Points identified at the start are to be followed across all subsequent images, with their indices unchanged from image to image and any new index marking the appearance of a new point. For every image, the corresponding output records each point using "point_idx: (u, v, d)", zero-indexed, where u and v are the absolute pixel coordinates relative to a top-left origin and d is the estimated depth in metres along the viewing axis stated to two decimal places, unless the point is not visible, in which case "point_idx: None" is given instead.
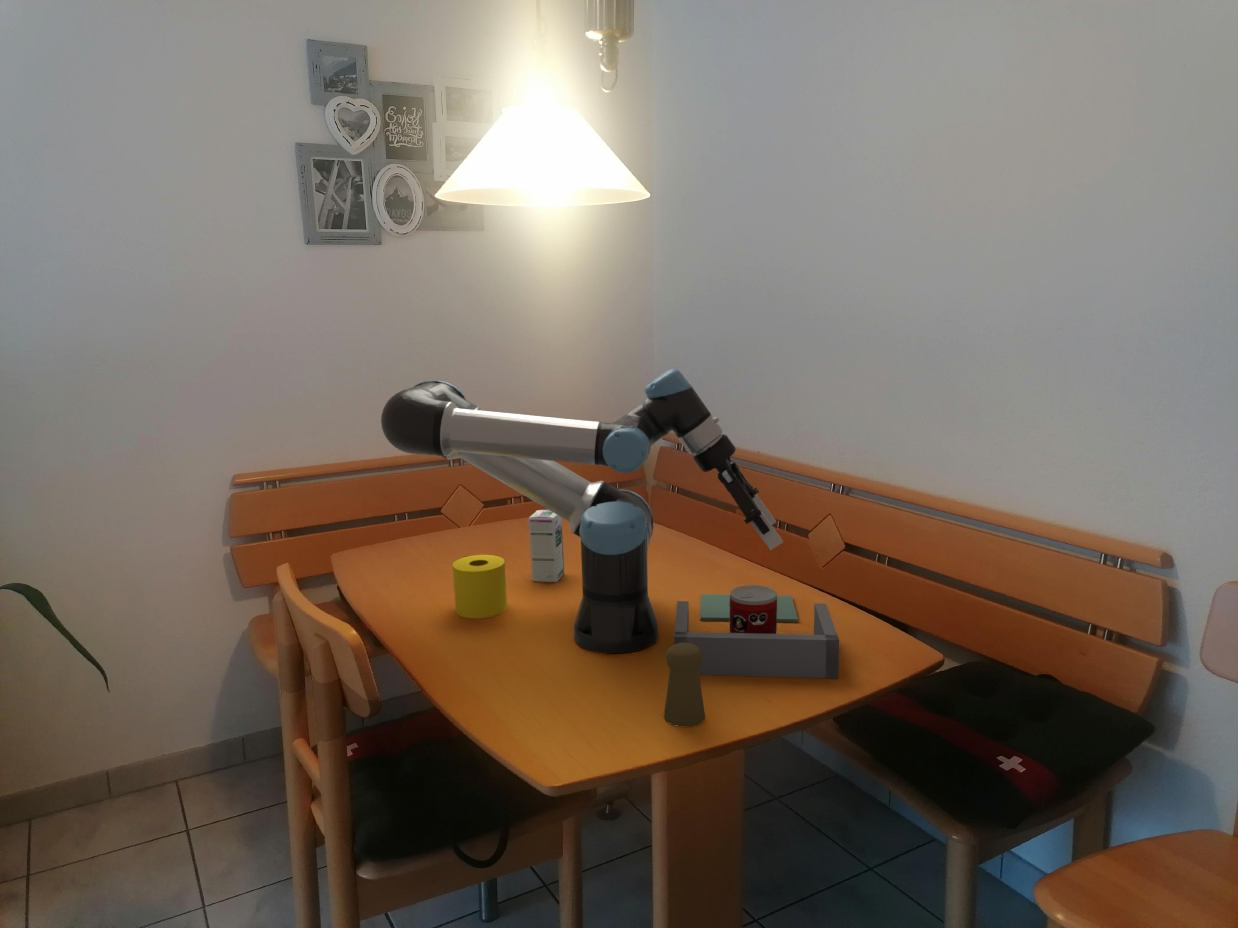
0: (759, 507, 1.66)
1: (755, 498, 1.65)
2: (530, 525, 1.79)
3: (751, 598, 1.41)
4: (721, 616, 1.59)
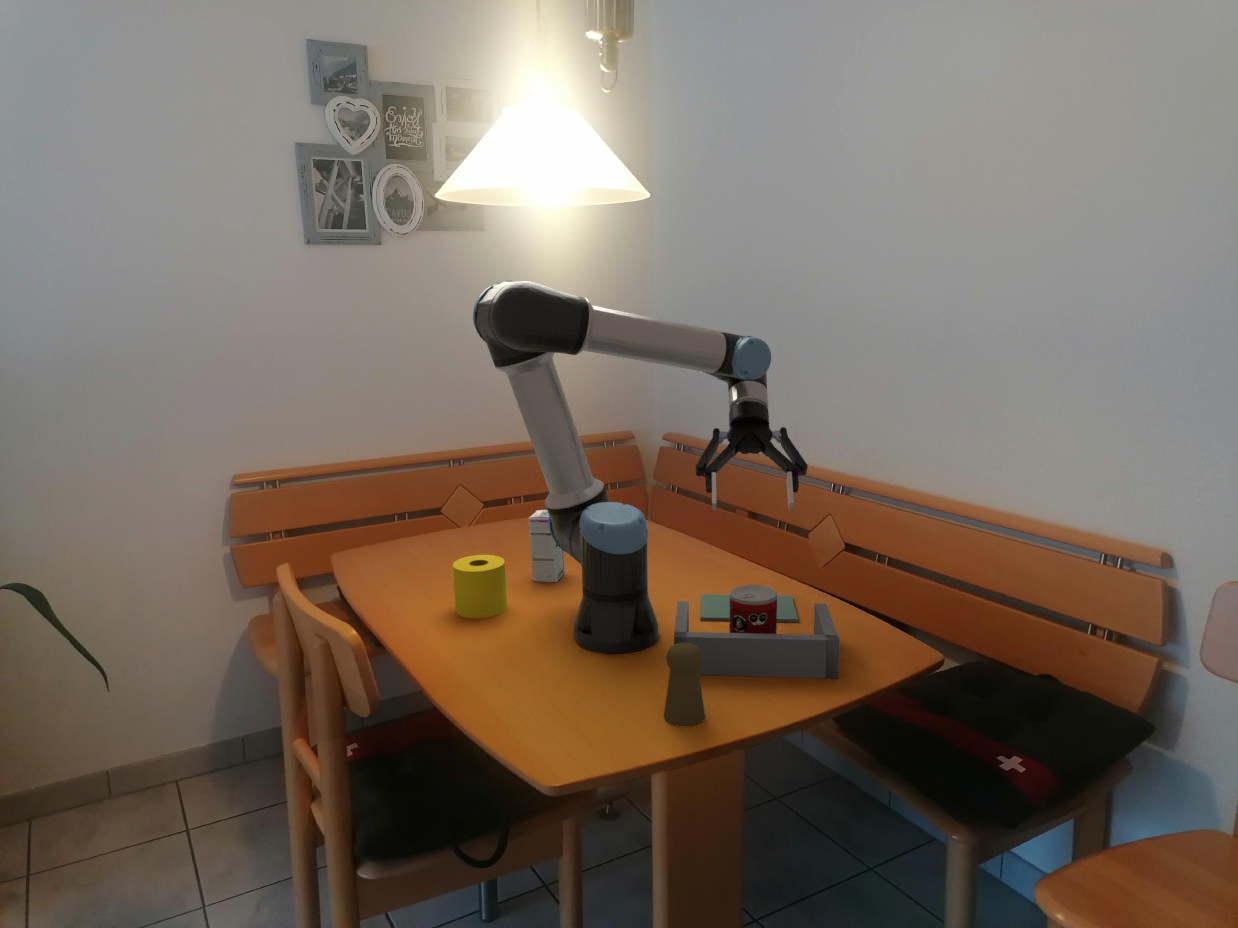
0: None
1: None
2: (530, 525, 1.79)
3: (751, 598, 1.41)
4: (721, 616, 1.59)
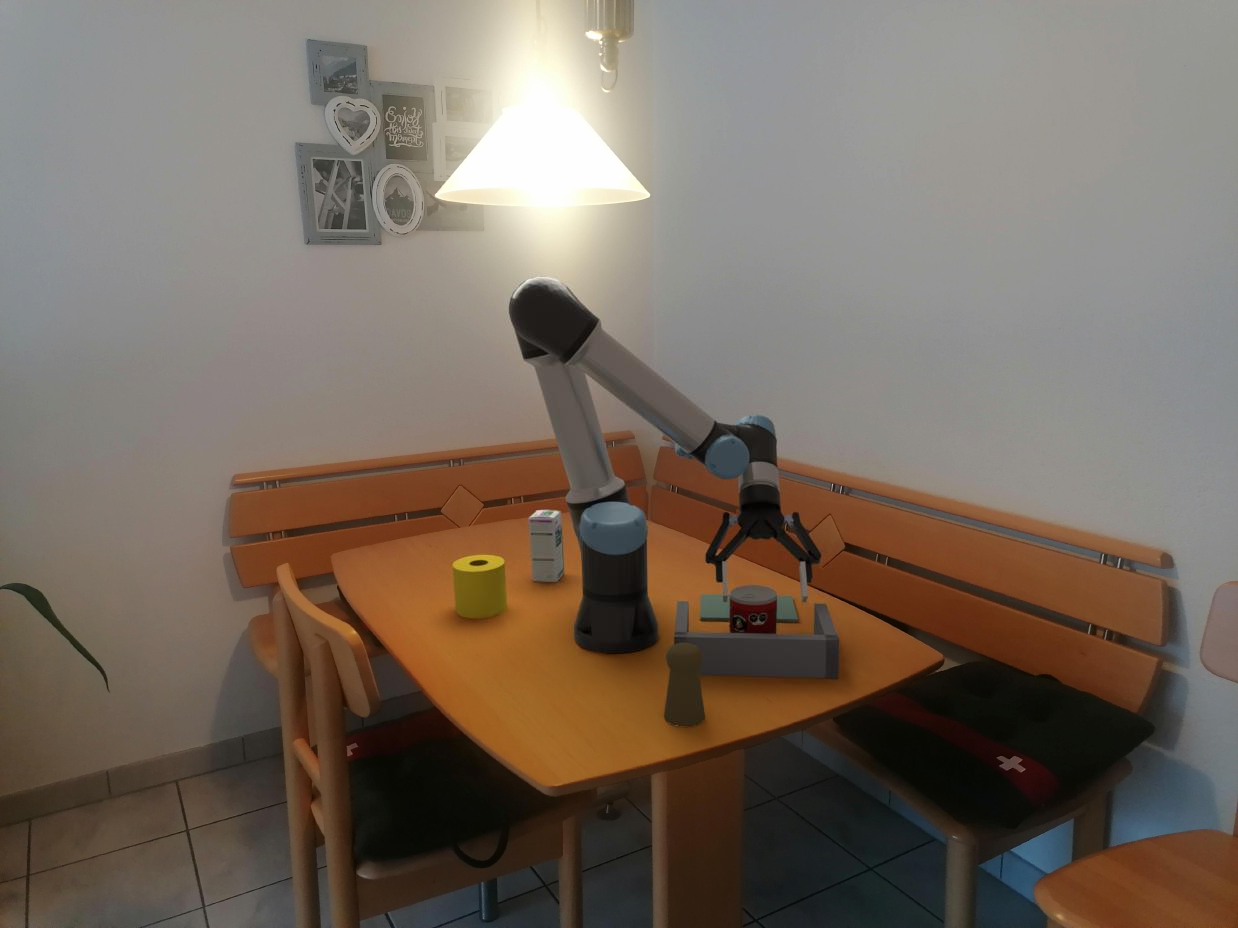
0: None
1: None
2: (530, 525, 1.79)
3: (751, 598, 1.41)
4: (721, 616, 1.59)
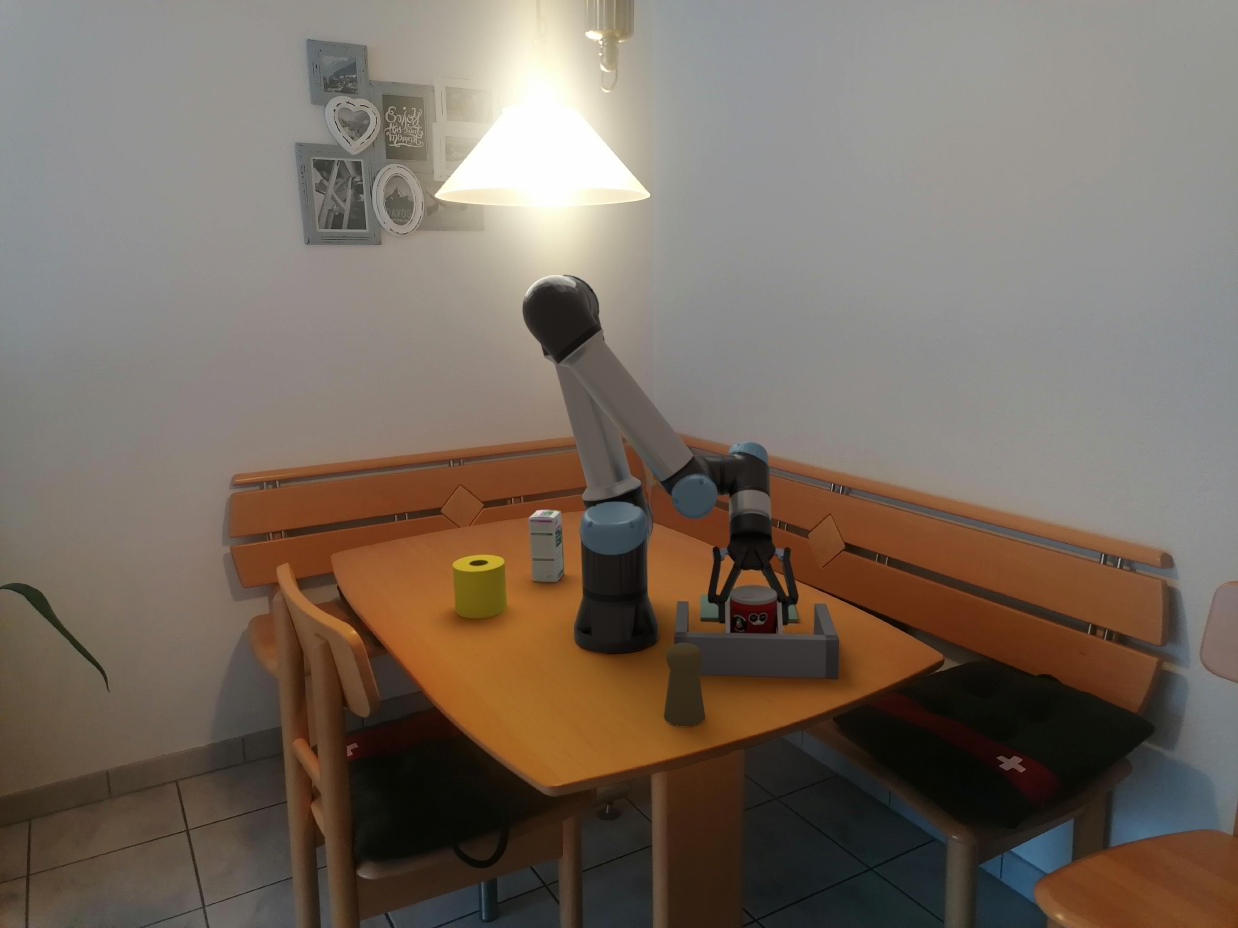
0: None
1: None
2: (530, 525, 1.79)
3: (751, 598, 1.41)
4: None
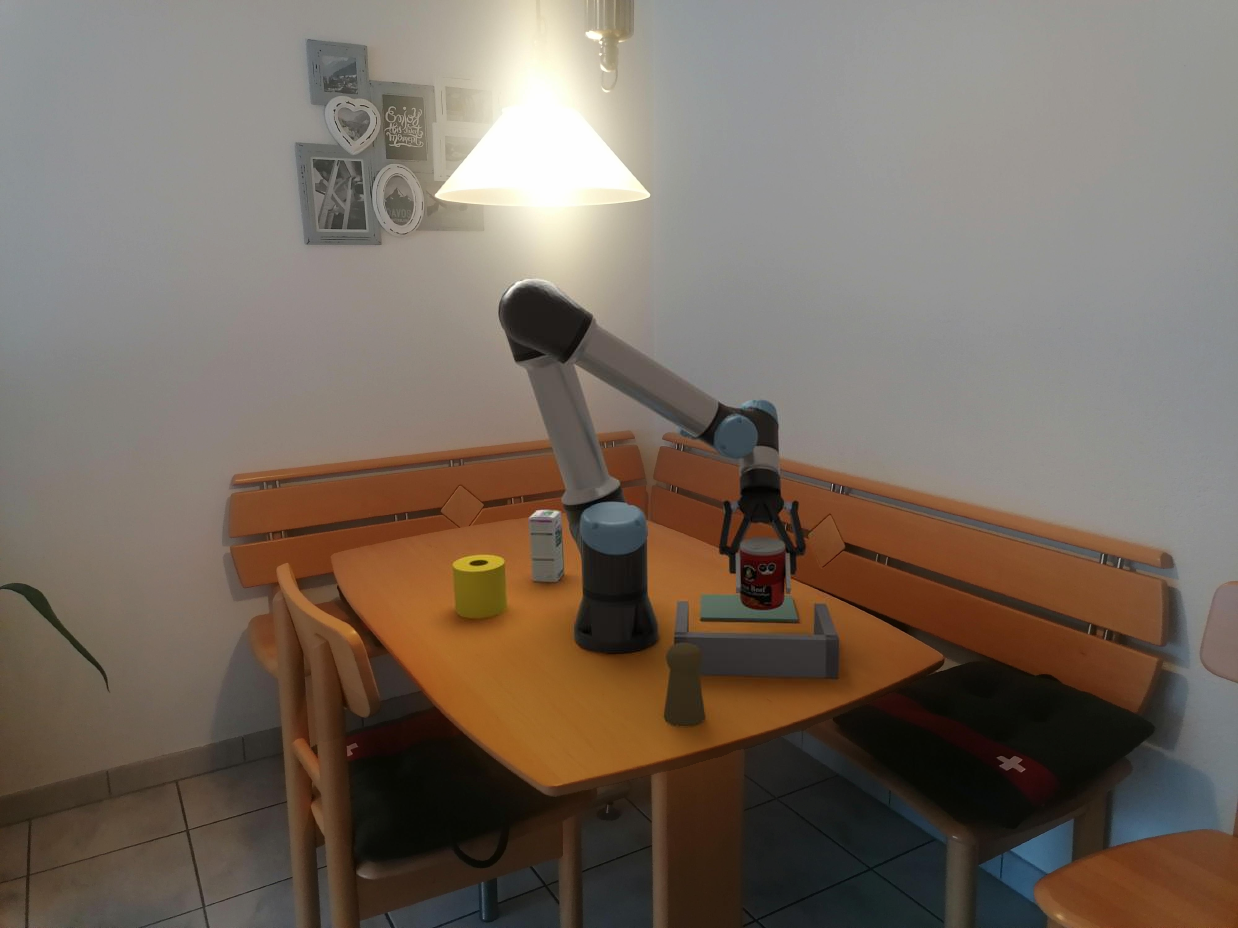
0: None
1: None
2: (530, 525, 1.79)
3: (760, 549, 1.48)
4: (721, 616, 1.59)
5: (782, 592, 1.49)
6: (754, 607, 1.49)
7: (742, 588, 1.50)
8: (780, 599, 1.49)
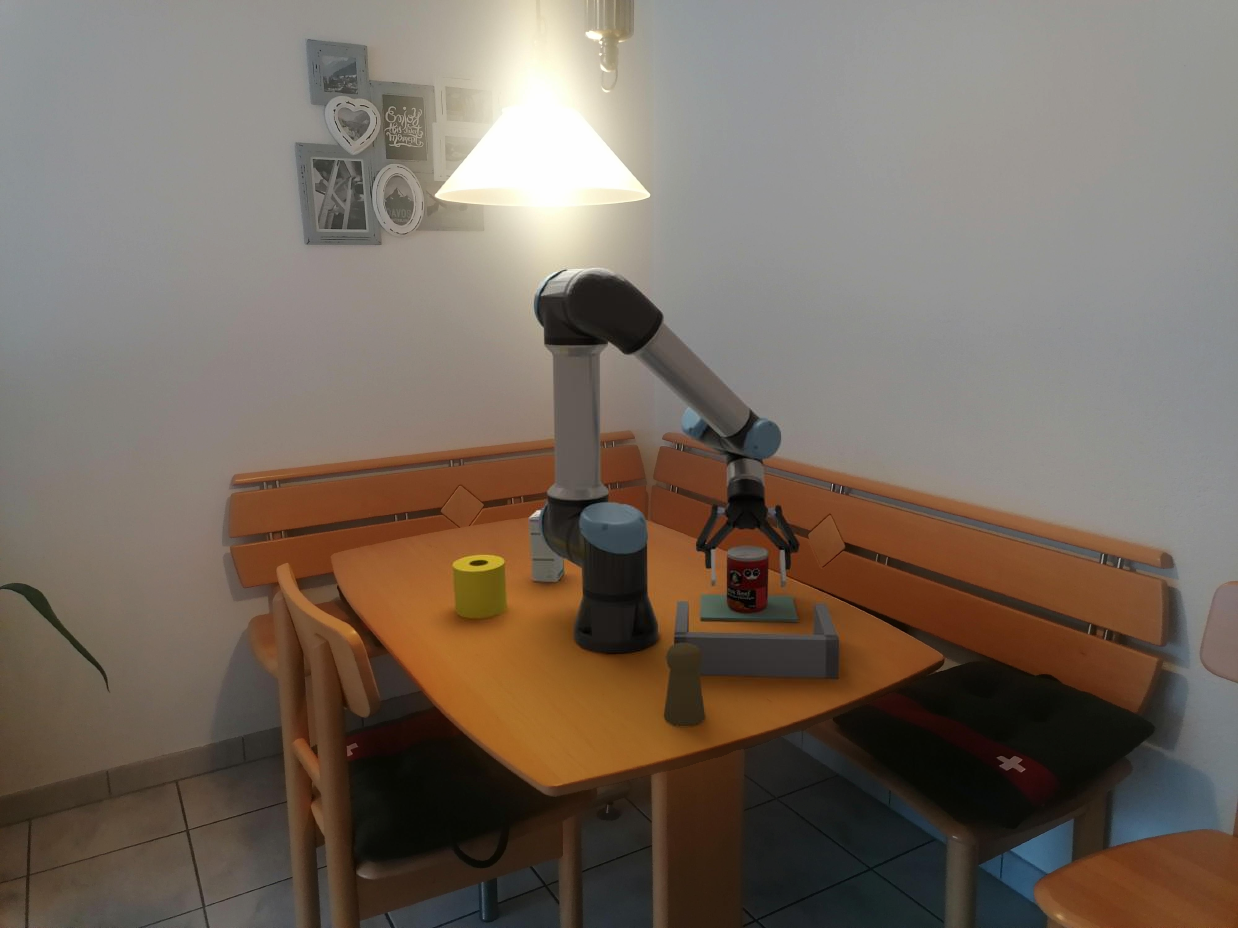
0: None
1: None
2: (530, 525, 1.79)
3: (746, 556, 1.60)
4: (721, 616, 1.59)
5: (765, 596, 1.62)
6: (740, 610, 1.61)
7: (728, 592, 1.62)
8: (763, 603, 1.61)
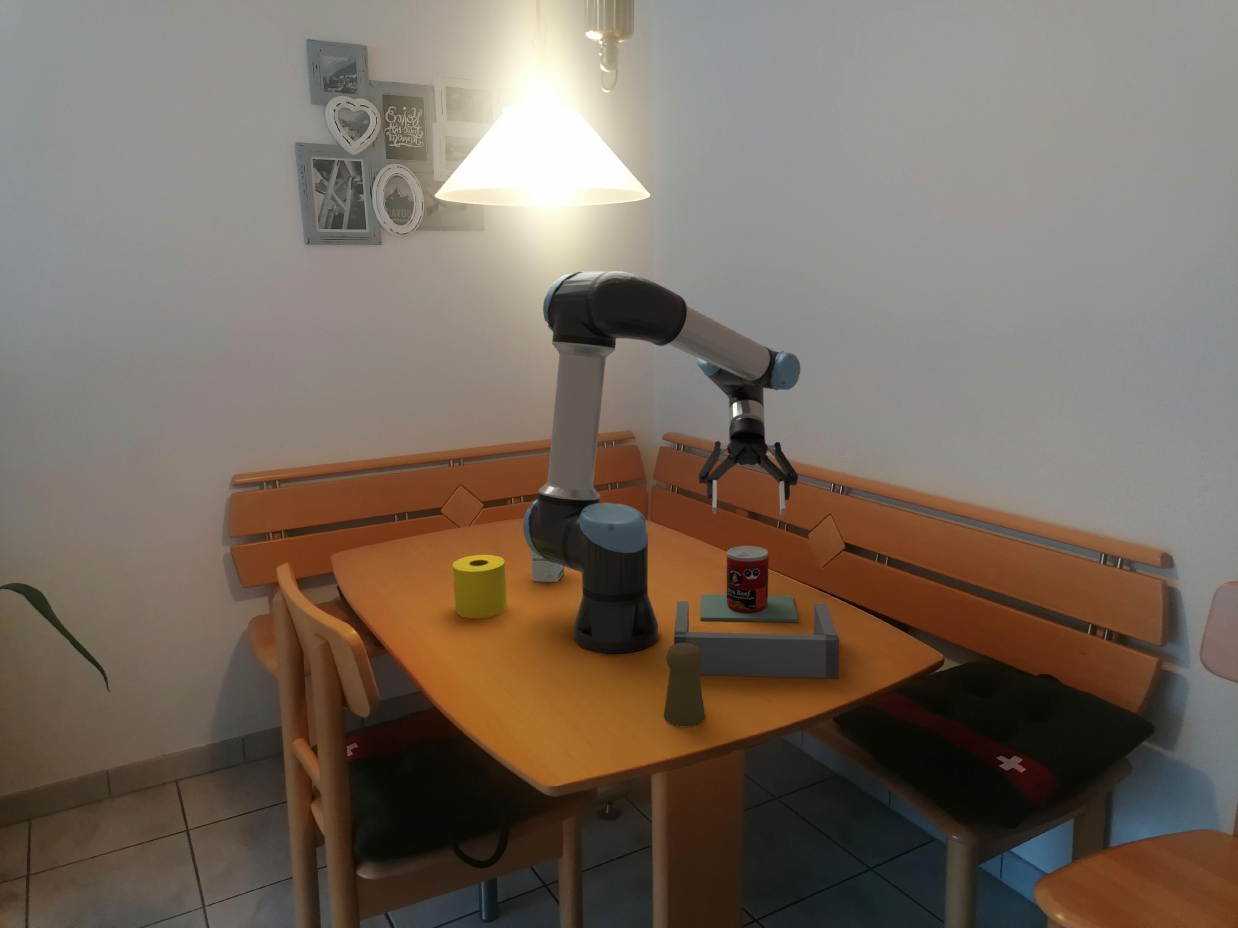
0: None
1: None
2: None
3: (745, 556, 1.60)
4: (721, 616, 1.59)
5: (765, 596, 1.62)
6: (740, 610, 1.61)
7: (728, 592, 1.62)
8: (763, 603, 1.61)
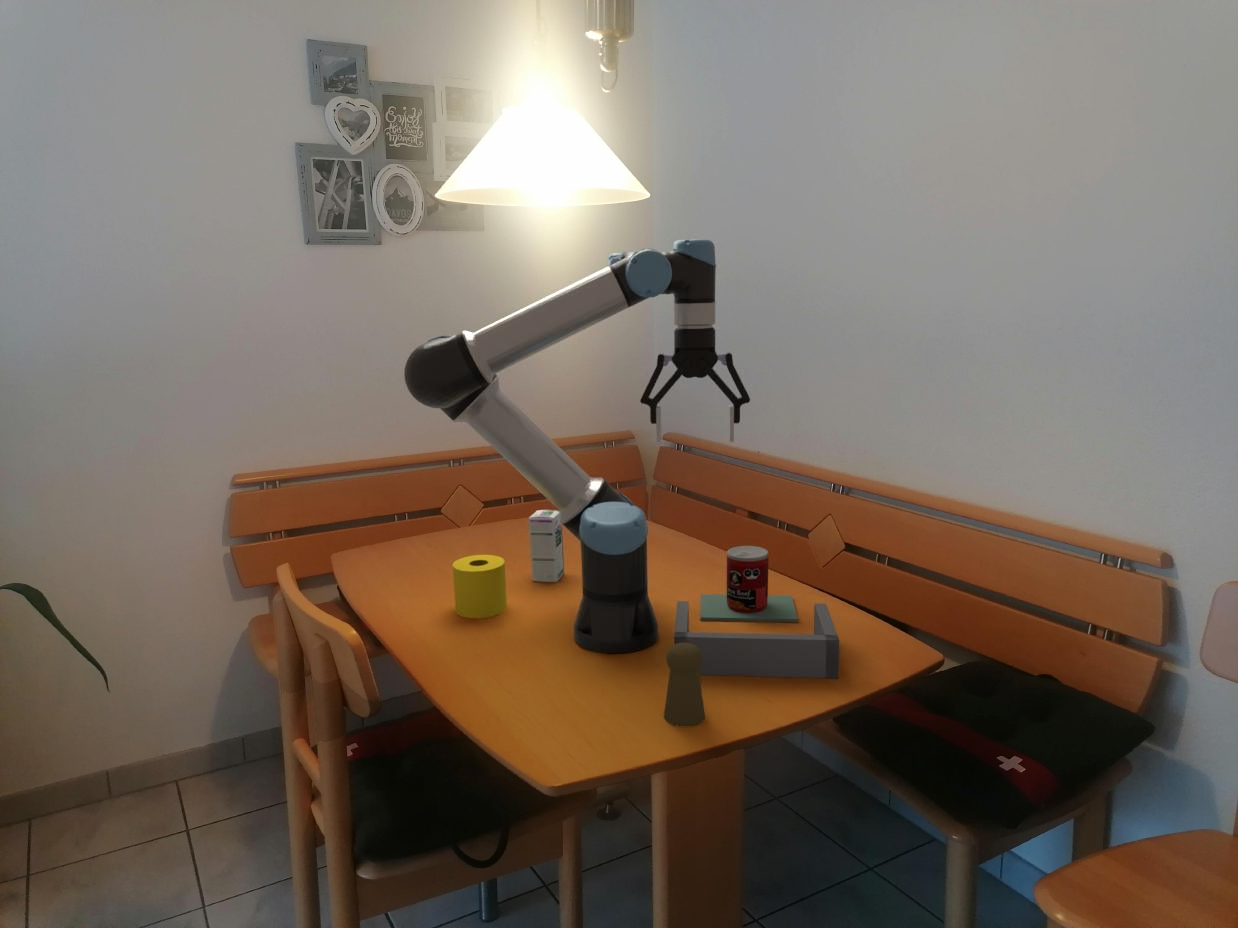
0: None
1: (660, 407, 1.60)
2: (530, 525, 1.79)
3: (745, 556, 1.60)
4: (721, 616, 1.59)
5: (765, 596, 1.62)
6: (740, 610, 1.61)
7: (728, 592, 1.62)
8: (763, 603, 1.61)
